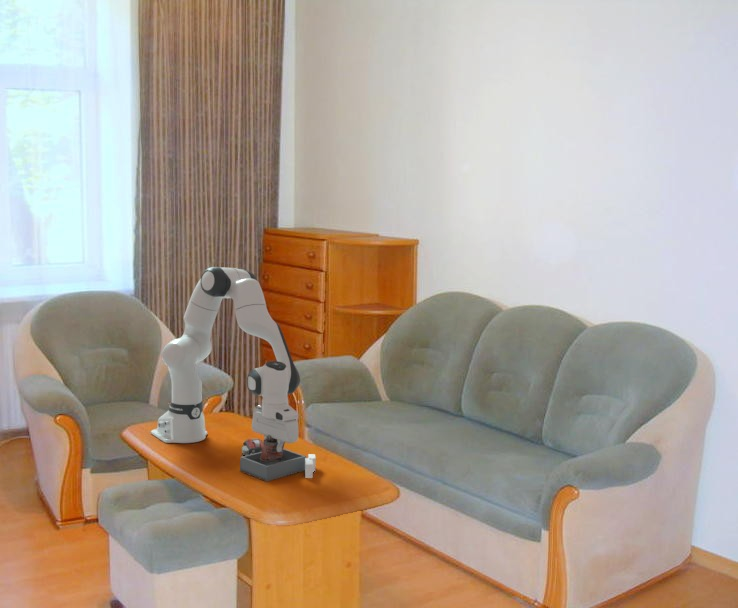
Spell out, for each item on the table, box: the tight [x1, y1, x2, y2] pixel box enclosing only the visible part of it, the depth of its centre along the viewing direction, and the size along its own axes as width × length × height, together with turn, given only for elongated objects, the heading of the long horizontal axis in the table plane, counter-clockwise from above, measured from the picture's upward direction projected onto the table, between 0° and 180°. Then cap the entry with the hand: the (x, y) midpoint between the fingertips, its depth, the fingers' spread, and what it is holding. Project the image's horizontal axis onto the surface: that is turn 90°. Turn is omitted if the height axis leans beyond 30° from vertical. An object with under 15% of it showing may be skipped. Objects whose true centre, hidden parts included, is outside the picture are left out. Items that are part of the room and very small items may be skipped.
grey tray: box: [239, 448, 307, 482], centre depth 303 cm, size 14×18×5 cm
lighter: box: [260, 435, 286, 463], centre depth 303 cm, size 8×3×10 cm, turn 123°
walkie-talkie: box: [241, 438, 264, 456], centre depth 322 cm, size 9×4×20 cm
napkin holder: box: [304, 453, 317, 478], centre depth 303 cm, size 15×11×6 cm
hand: (273, 449), depth 302 cm, fingers closed on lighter, 3 cm apart
